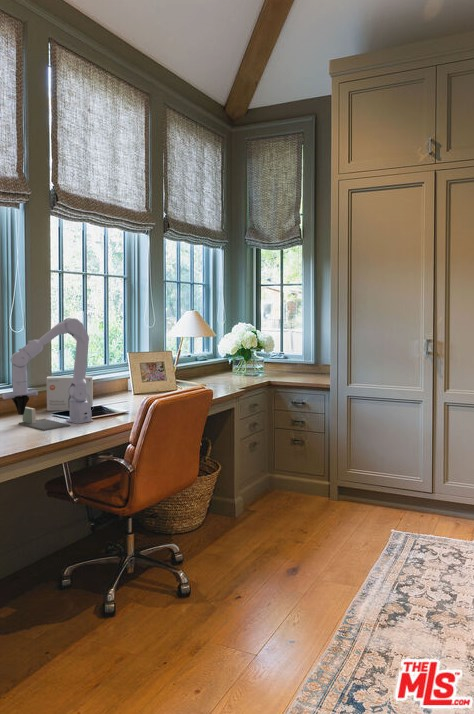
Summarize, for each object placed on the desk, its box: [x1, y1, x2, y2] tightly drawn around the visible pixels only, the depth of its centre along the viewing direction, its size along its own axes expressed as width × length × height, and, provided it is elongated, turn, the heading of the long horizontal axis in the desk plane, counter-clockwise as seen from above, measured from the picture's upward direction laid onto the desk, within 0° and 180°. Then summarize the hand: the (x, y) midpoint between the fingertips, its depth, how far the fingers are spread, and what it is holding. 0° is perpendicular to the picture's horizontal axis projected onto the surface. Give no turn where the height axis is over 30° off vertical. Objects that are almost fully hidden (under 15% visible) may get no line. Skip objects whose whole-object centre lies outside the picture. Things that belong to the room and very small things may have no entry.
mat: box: [17, 418, 71, 432], centre depth 249 cm, size 20×12×1 cm, turn 48°
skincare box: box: [46, 375, 94, 412], centre depth 287 cm, size 21×5×16 cm, turn 101°
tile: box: [22, 406, 37, 424], centre depth 252 cm, size 7×2×6 cm, turn 48°
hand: (21, 414), depth 247 cm, fingers closed
